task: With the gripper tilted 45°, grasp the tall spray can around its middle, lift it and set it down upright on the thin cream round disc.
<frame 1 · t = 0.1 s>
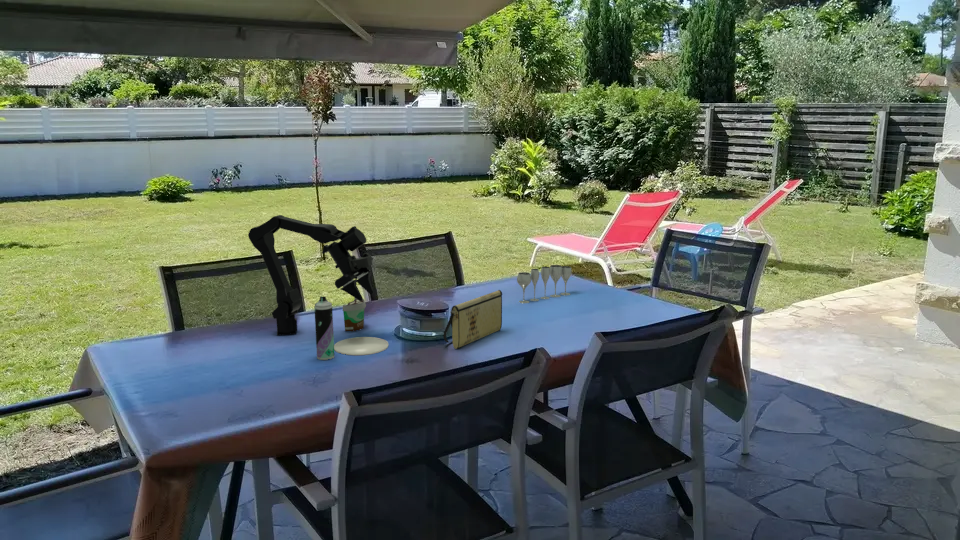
hand: (367, 297, 248), 15 cm above the table, tool tilted 35°, fingers open, 9 cm apart
goblet set: (544, 298, 307), on the table
food container: (357, 328, 264), on the table
spray can: (325, 357, 233), on the table
clutch purse: (472, 339, 252), on the table
cream round disc: (361, 346, 243), on the table
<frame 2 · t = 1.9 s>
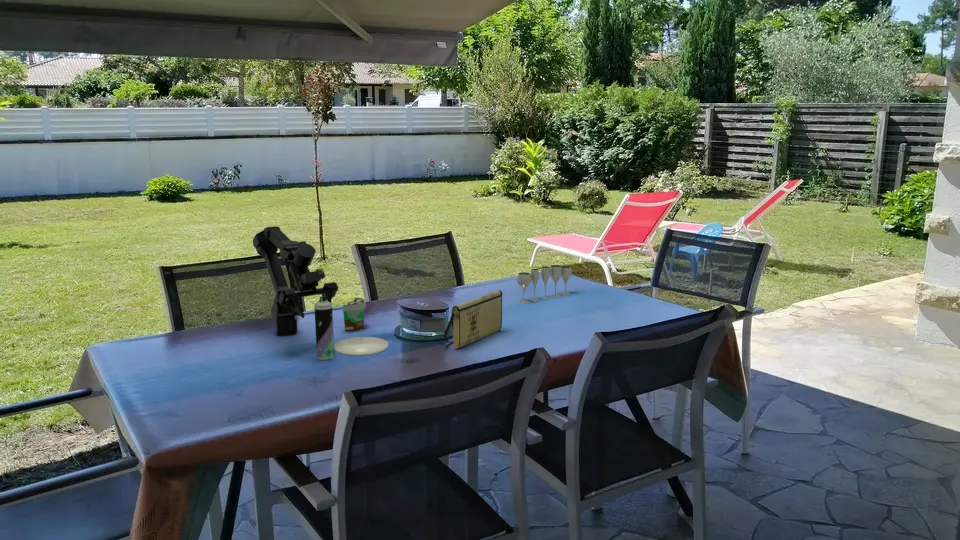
hand: (317, 315, 234), 13 cm above the table, tool tilted 45°, fingers open, 9 cm apart
nothing on the table moved.
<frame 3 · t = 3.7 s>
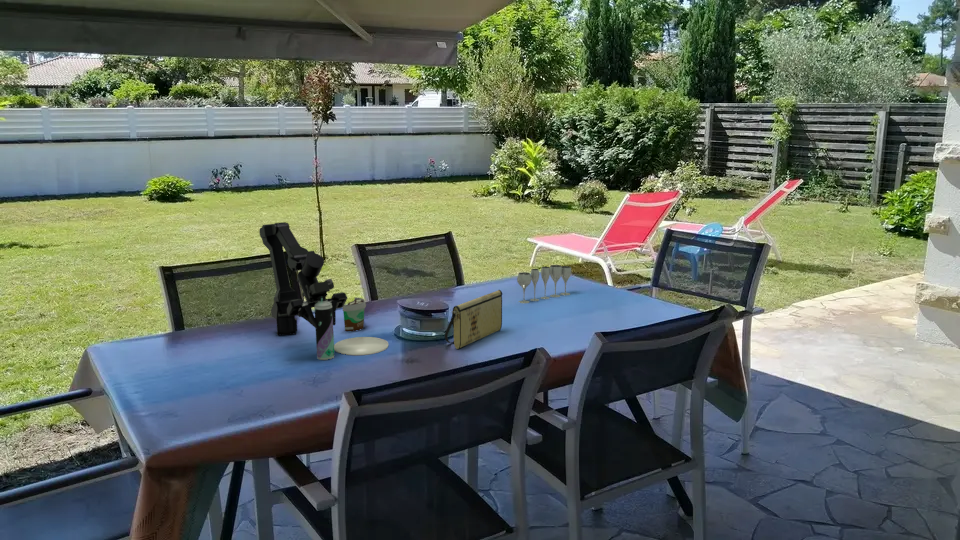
hand: (326, 326, 229), 11 cm above the table, tool tilted 45°, fingers closed on spray can, 5 cm apart
spray can: (325, 357, 233), on the table, touching gripper
everything else where it was.
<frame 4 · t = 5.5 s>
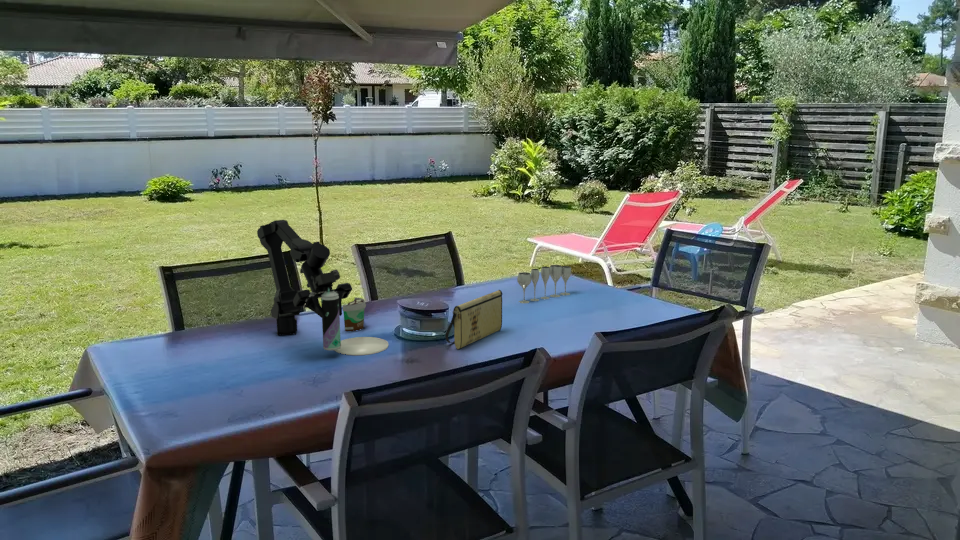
hand: (332, 316, 230), 13 cm above the table, tool tilted 45°, fingers closed on spray can, 5 cm apart
spray can: (332, 348, 234), point 2 cm above the table, touching gripper
everything else where it was.
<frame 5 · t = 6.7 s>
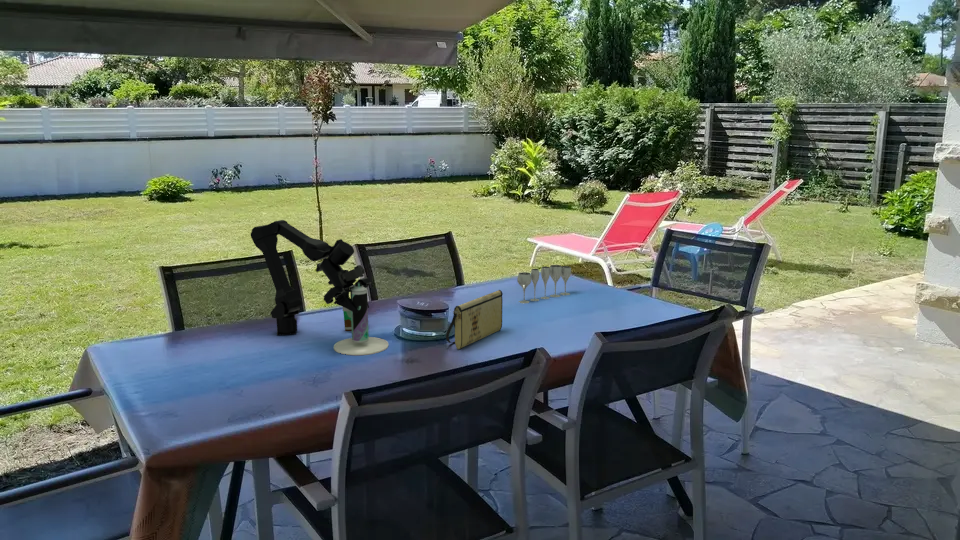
hand: (362, 310, 240), 13 cm above the table, tool tilted 45°, fingers closed on spray can, 5 cm apart
spray can: (360, 341, 243), point 2 cm above the table, touching gripper
everything else where it was.
when the fingers open (12 cm above the table, at t = 7.2 s): spray can stays where it is, resting on cream round disc.
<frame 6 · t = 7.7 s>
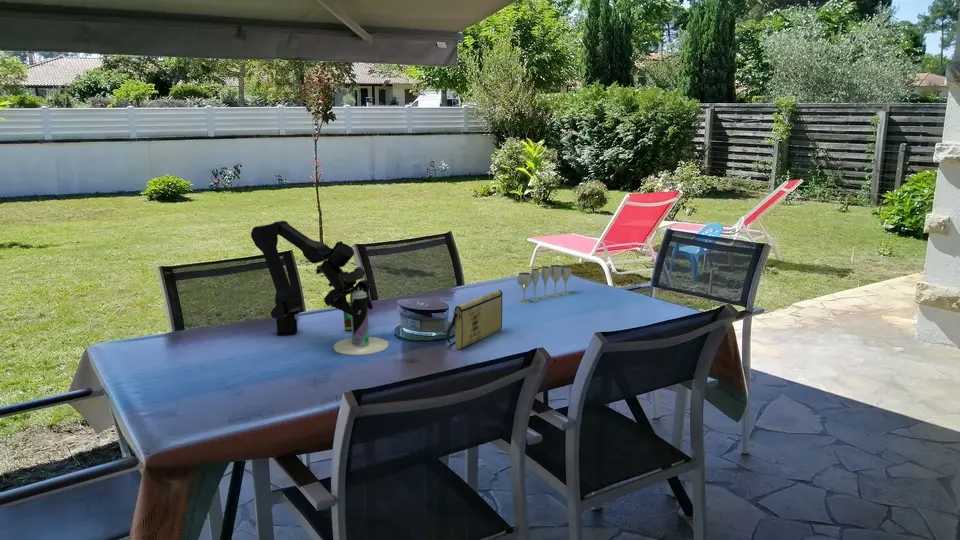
hand: (363, 312, 240), 12 cm above the table, tool tilted 45°, fingers open, 9 cm apart
spray can: (360, 345, 243), resting on cream round disc
everything else where it was.
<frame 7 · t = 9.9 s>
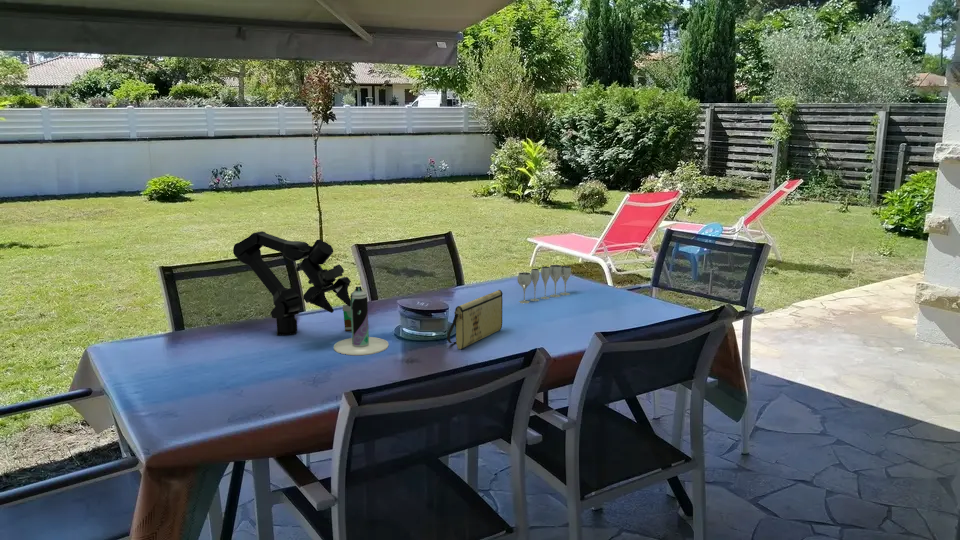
hand: (341, 308, 244), 12 cm above the table, tool tilted 45°, fingers open, 9 cm apart
nothing on the table moved.
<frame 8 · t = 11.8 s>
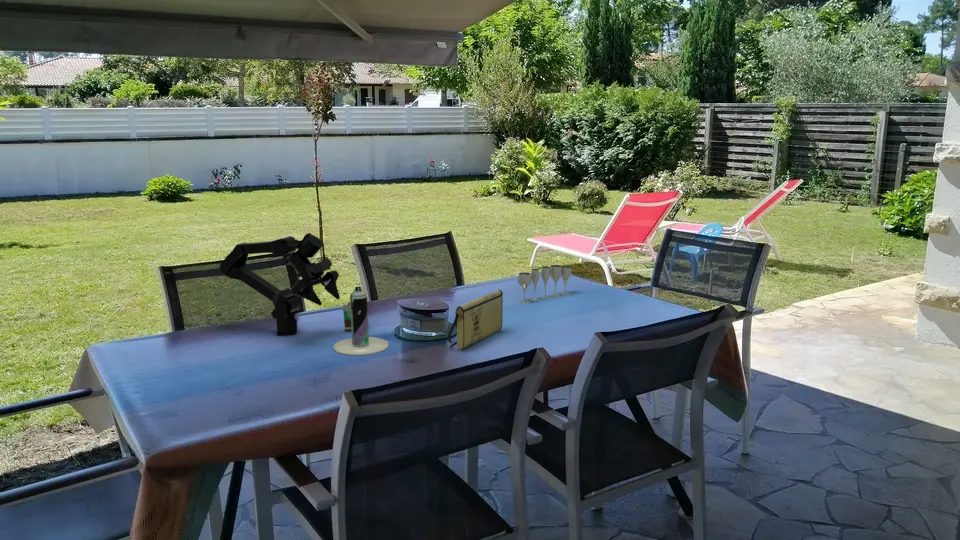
hand: (330, 301, 248), 14 cm above the table, tool tilted 45°, fingers open, 9 cm apart
nothing on the table moved.
at the end: spray can inside the target area on the cream round disc (0.2 cm from its centre), point 0.4 cm above the cream round disc's base; spray can tilted 0°; the gripper is holding nothing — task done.
